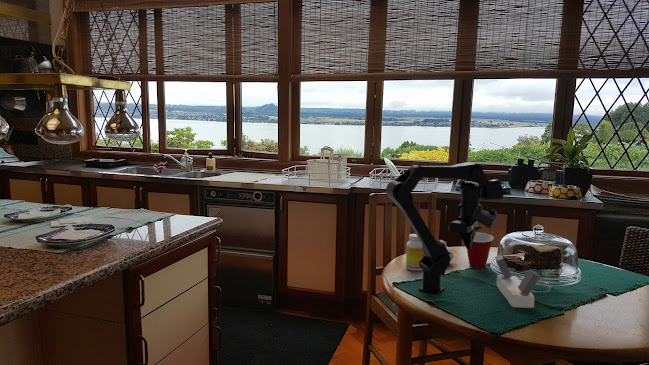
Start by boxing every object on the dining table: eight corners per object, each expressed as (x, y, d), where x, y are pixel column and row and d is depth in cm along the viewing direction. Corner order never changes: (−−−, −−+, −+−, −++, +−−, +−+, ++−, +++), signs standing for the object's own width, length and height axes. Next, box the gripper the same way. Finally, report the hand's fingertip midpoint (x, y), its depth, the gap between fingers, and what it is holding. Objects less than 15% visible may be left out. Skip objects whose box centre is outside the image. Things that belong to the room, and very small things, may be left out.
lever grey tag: (506, 279, 144) (497, 260, 143) (502, 275, 148) (494, 257, 147) (512, 276, 143) (503, 258, 143) (508, 272, 147) (500, 254, 147)
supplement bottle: (424, 272, 163) (425, 237, 161) (405, 271, 164) (406, 237, 163) (423, 266, 169) (424, 233, 168) (406, 265, 171) (406, 232, 169)
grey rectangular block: (521, 292, 130) (534, 273, 129) (517, 287, 134) (529, 269, 132) (528, 295, 130) (540, 276, 128) (523, 290, 133) (535, 272, 132)
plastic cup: (461, 269, 166) (462, 237, 164) (463, 261, 176) (464, 231, 174) (492, 272, 162) (493, 240, 160) (493, 264, 171) (494, 233, 170)
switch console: (512, 307, 130) (512, 294, 130) (496, 285, 148) (497, 274, 148) (533, 307, 130) (534, 295, 129) (515, 286, 147) (515, 275, 147)
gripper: (483, 209, 132) (481, 260, 134) (505, 200, 146) (503, 246, 148) (448, 204, 139) (446, 253, 141) (472, 196, 153) (470, 241, 155)
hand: (468, 248), depth 146 cm, fingers closed
